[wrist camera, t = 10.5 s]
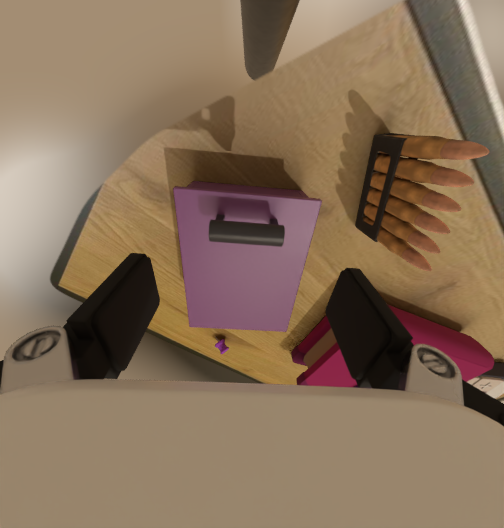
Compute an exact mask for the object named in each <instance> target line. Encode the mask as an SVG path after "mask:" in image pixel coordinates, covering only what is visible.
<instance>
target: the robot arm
mask: <svg viewBox="0 0 504 528" xmlns="http://www.w3.org/2000/svg"><path fill="white" fill-rule="evenodd" d="M159 302H160V298H159V294H158V290H157V285H156V281H155V277H154V272H153V268H152V264H151V260H150V258H149V257H147V256H146V255H145V254H138V253H131V254H130V255H129V256H128V257H127V258H126V259H125V260H124V261H123V262H122V263H121V264H120V265H119V266H118V267H117V268H116V269H115V270H114V271H113V272H112V273H111V274H110V276H109V277H108V278H107V279H106V280H105V281H104V282H103V283H102V284H101V285H100V286H99V287H98V288H97V289H96V290H95V291H94V292H93V293H92V294H91V295H90V296H89V298H88V299H87V300H86V301H85V302H84V303H83V304H82V305H81V306H80V307H79V308H78V309H77V310H76V311H75V312H74V313H73V314H72V315H71V316H70V317H69V318H68V320H67V323H66V324H65V325H64V327H63V328H62V327H60V326H48V327H43V328H40V329H36V330H34V331H32V332H29V333H27V334H26V335H24V336H23V337H21V338H19V339H18V340H17V341H16V342H14V343H13V344H12V345H11V346H10V347H9V349H8V350H7V351H6V354H5V356H4V360H2V361H0V528H504V404H503V403H501V402H500V401H498V400H496V399H495V398H493V397H491V396H489V395H488V394H486V393H484V392H483V391H481V390H479V389H478V388H476V387H474V386H473V385H471V384H469V383H467V382H466V381H464V380H462V375H461V372H460V369H459V368H458V366H457V365H456V363H455V362H454V361H453V360H452V359H451V358H450V357H448V356H447V355H446V354H445V353H443V352H442V351H440V350H438V349H437V348H435V347H432V346H430V345H426V344H416V345H413V343H412V342H411V340H412V339H413V337H412V336H411V334H410V333H409V332H408V331H407V329H406V328H405V327H404V325H403V324H402V323H401V322H400V320H399V319H398V318H397V316H396V315H395V314H394V312H393V311H392V310H391V309H390V307H389V306H388V305H387V303H386V302H385V301H384V300H383V298H382V297H381V296H380V294H379V293H378V292H377V291H376V289H375V288H374V287H373V285H372V284H371V283H370V282H369V280H368V279H367V278H366V276H365V275H364V274H363V273H362V271H361V270H360V269H356V268H346V269H345V270H344V271H342V272H341V273H340V276H339V278H338V280H337V283H336V285H335V288H334V290H333V293H332V295H331V297H330V300H329V302H328V305H327V307H326V316H327V318H328V321H329V323H330V326H331V328H332V331H333V333H334V336H335V338H336V341H337V343H338V346H339V348H340V351H341V353H342V355H343V358H344V360H345V363H346V365H347V368H348V370H349V373H350V375H351V377H352V378H353V379H355V380H356V383H357V385H358V387H359V388H354V387H330V386H305V385H280V384H252V383H224V382H223V383H222V382H193V381H161V380H160V381H158V380H112V379H117V378H118V376H119V374H120V372H121V371H123V370H125V369H126V368H127V366H128V364H129V362H130V360H131V358H132V356H133V354H134V353H135V351H136V349H137V347H138V345H139V343H140V341H141V339H142V337H143V335H144V333H145V331H146V329H147V327H148V325H149V323H150V322H151V320H152V318H153V316H154V314H155V312H156V310H157V308H158V306H159ZM104 378H107V379H104ZM110 379H111V380H110ZM371 388H372V389H371Z"/></svg>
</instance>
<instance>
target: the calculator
mask: <svg viewBox="0 0 504 528" xmlns="http://www.w3.org/2000/svg"><path fill="white" fill-rule="evenodd" d="M467 383H469V384H471V385H473V386H474V387H476V388H478V389H479V390H481V391H483V392H484V393H486V394H488V395H489V396H491V397H493V398H497V397H498V396H500V395H502V394H503V393H504V363H495V362H494V365H493V368H492V369H491V370H489V371H487V372H485V373H483V374H481V375H479V376H477V377H475V378H473V379H471V380H469V381H467Z"/></svg>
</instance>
